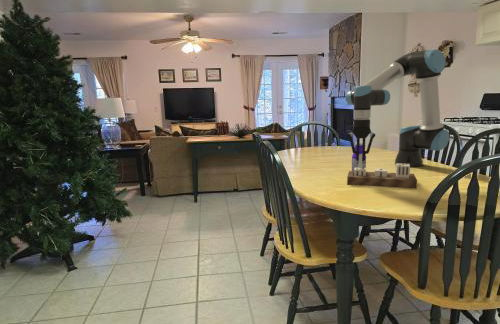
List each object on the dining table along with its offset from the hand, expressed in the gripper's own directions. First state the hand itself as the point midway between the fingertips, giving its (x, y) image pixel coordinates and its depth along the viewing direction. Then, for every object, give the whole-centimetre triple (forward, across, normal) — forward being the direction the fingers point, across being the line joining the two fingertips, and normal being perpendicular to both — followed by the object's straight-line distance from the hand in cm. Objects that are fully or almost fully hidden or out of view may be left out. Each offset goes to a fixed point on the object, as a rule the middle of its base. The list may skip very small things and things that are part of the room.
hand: (360, 167), depth 161 cm
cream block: (+7, +9, 0) cm, 12 cm away
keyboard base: (+7, +9, 0) cm, 12 cm away
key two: (+7, 0, 0) cm, 7 cm away
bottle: (+8, -1, +16) cm, 18 cm away
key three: (+4, +19, 0) cm, 19 cm away
